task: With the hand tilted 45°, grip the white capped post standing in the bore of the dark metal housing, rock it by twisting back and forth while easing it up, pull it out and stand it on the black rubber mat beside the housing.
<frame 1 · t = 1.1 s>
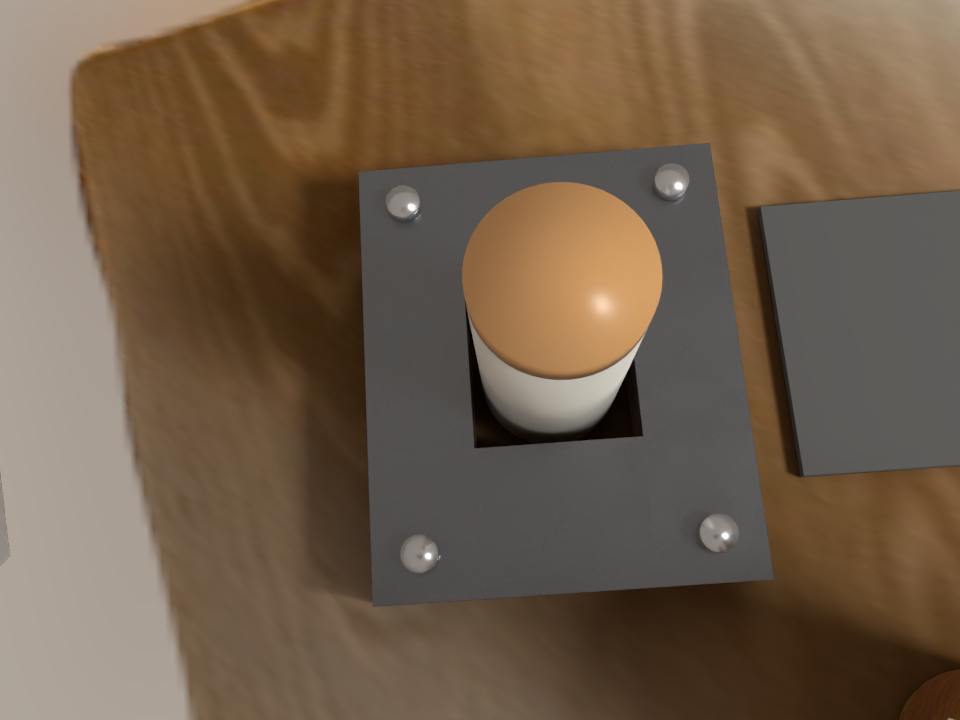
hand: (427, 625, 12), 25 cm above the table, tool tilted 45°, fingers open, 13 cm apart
white capped post: (549, 378, 38), resting in housing
mat: (918, 328, 38), on the table
housing: (549, 378, 38), on the table
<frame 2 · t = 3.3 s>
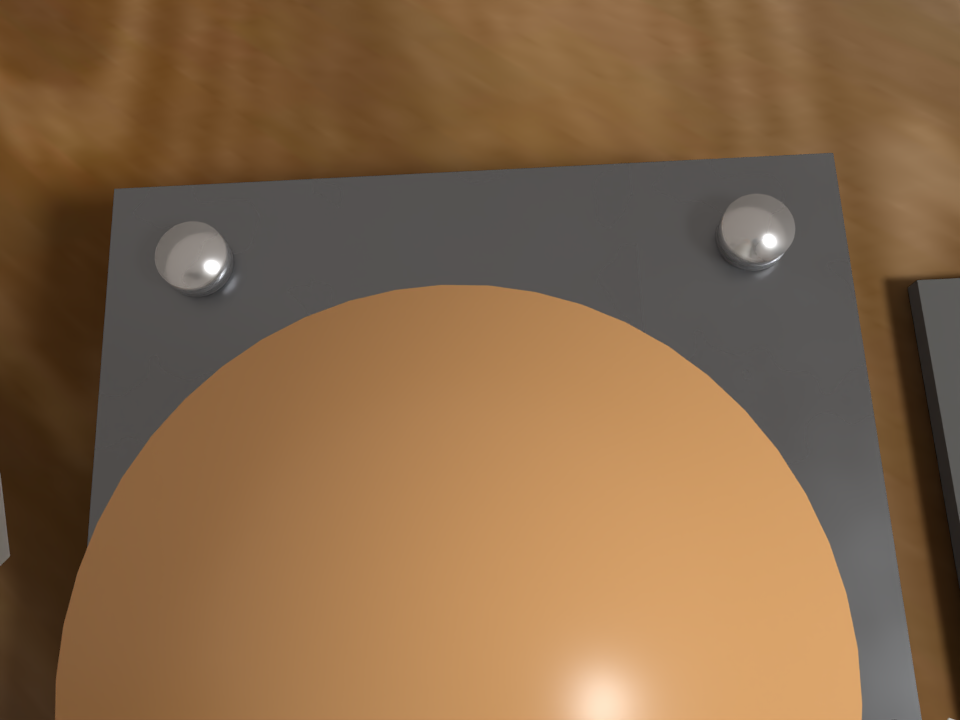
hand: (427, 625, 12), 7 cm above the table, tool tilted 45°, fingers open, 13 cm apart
white capped post: (491, 616, 19), resting in housing
housing: (491, 616, 19), on the table
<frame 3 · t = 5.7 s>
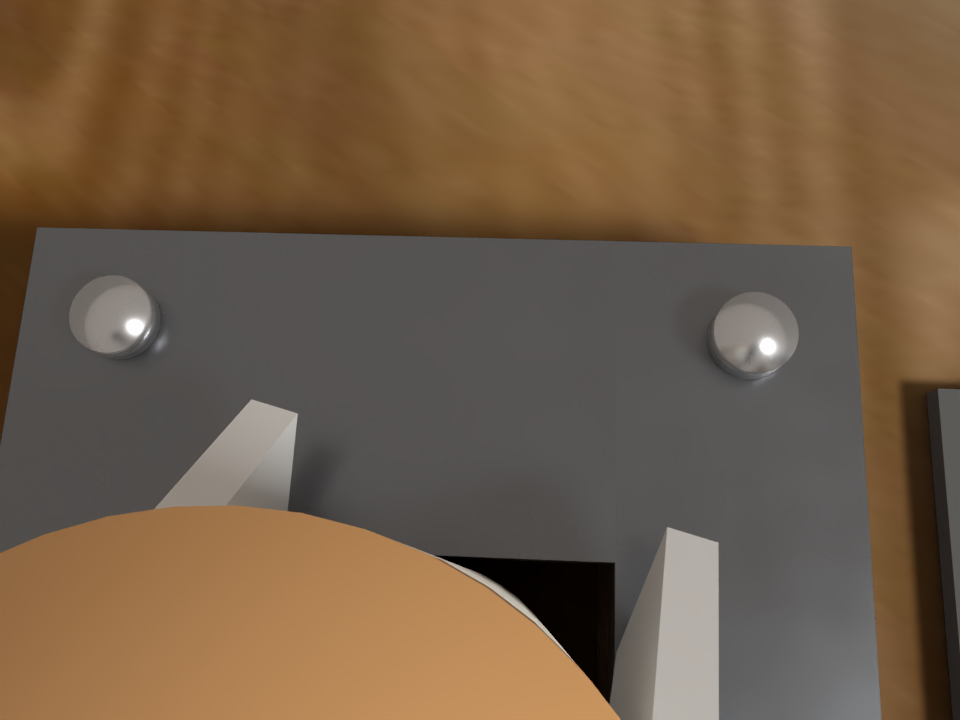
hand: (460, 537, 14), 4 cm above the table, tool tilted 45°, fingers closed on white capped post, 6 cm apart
white capped post: (420, 715, 17), resting in housing, touching gripper
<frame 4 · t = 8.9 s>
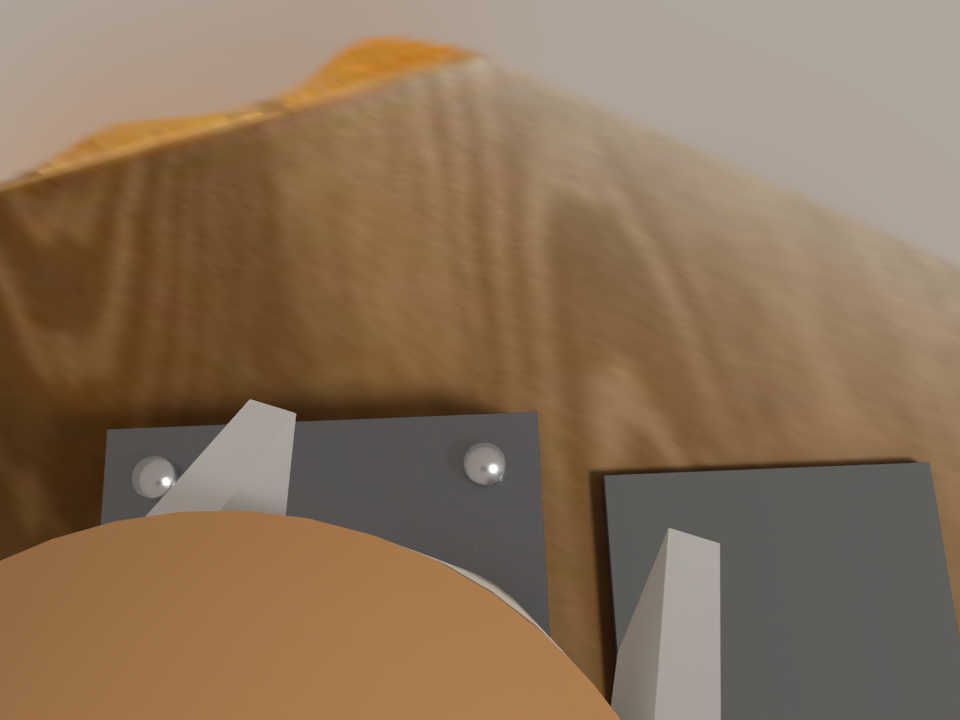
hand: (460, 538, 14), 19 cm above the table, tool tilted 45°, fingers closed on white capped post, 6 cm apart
white capped post: (415, 714, 17), point 15 cm above the table, touching gripper
mat: (782, 638, 31), on the table
housing: (336, 685, 31), on the table
when the fingers open (6 cm above the table, at t = 12.4 s): white capped post drops 1 cm, resting on mat.
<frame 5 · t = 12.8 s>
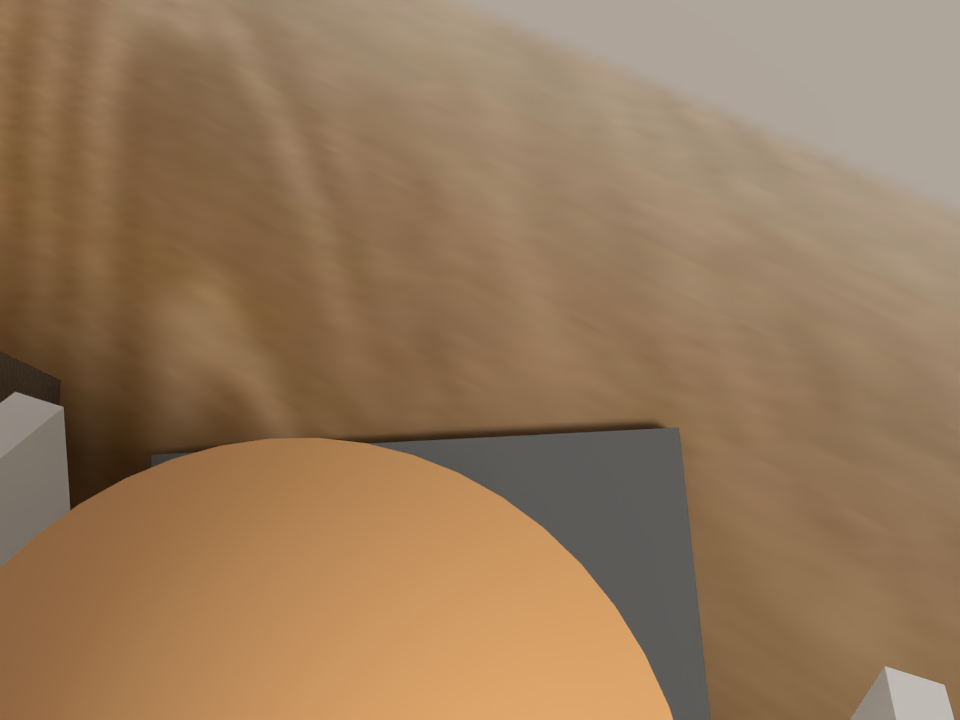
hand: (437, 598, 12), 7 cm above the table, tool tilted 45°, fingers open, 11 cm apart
white capped post: (430, 710, 18), point 1 cm above the table, touching mat
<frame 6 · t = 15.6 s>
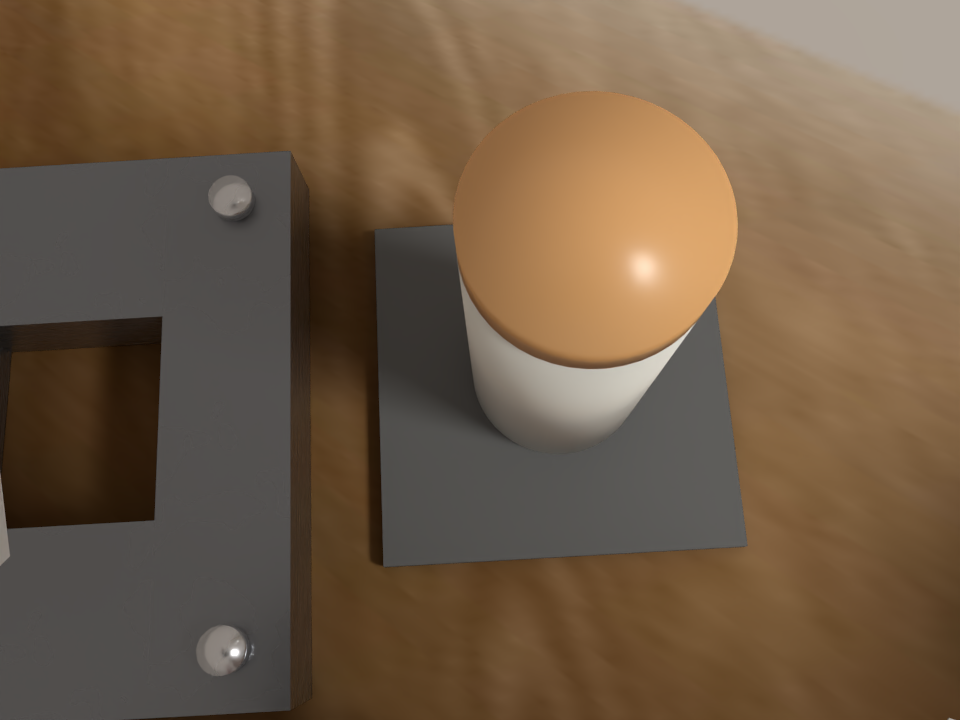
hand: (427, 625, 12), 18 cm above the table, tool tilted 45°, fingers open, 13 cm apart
white capped post: (556, 371, 30), resting on mat
mat: (550, 382, 31), on the table
housing: (97, 437, 31), on the table
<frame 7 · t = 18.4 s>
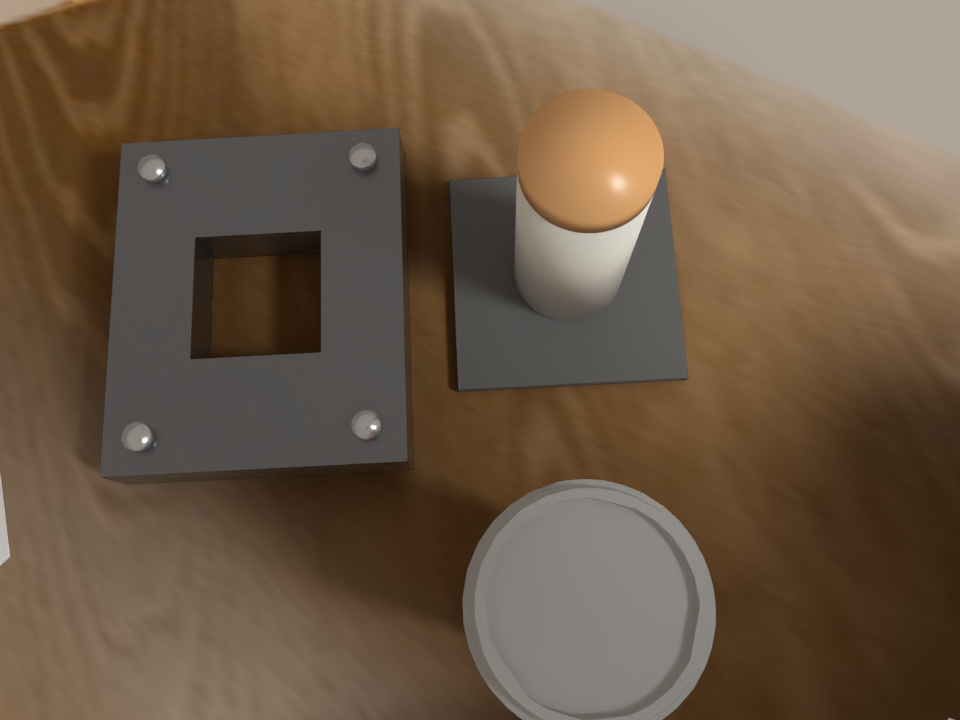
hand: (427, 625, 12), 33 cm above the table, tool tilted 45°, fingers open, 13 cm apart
disposable coffee cup: (568, 603, 44), on the table
white capped post: (567, 270, 47), resting on mat
mat: (564, 278, 48), on the table
housing: (271, 312, 48), on the table
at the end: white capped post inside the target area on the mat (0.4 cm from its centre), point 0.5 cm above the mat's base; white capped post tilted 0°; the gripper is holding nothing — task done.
